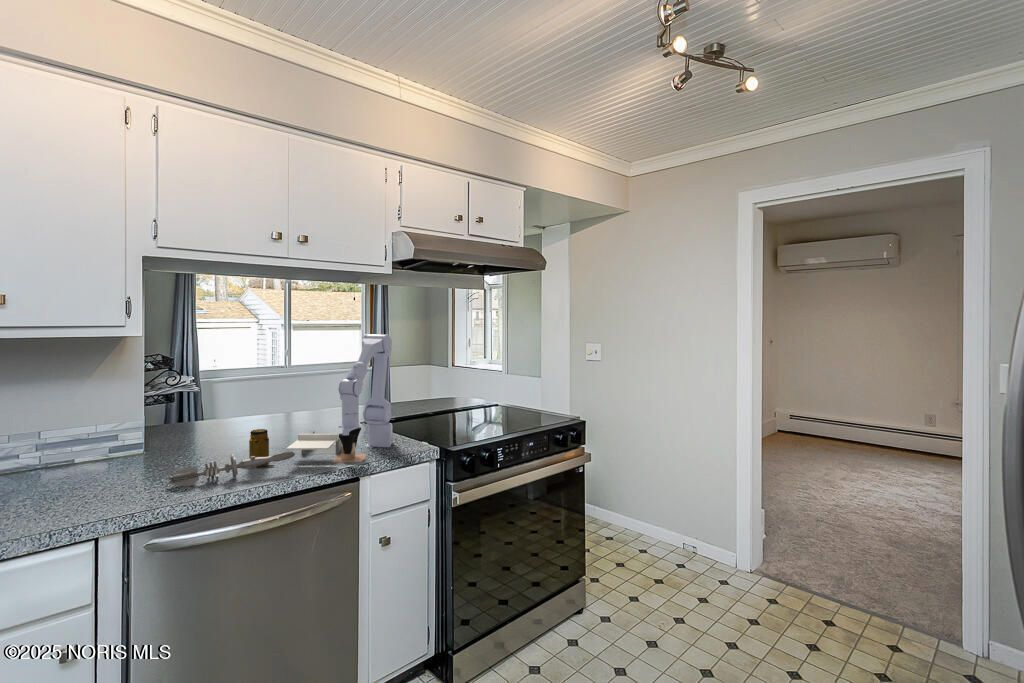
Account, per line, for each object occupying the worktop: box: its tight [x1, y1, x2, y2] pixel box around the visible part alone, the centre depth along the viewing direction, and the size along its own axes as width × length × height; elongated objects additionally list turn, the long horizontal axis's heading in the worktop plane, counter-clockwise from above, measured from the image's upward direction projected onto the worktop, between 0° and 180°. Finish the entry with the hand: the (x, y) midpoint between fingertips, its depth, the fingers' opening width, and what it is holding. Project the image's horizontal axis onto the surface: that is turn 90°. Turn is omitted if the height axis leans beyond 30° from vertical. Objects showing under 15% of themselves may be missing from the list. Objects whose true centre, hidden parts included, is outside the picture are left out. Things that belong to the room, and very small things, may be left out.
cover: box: [286, 433, 339, 451], centre depth 179 cm, size 14×13×2 cm
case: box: [301, 430, 342, 455], centre depth 194 cm, size 13×13×6 cm
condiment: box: [248, 428, 275, 469], centre depth 175 cm, size 7×8×12 cm
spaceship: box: [166, 451, 296, 487], centre depth 160 cm, size 8×35×8 cm
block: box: [340, 443, 356, 460], centre depth 183 cm, size 4×4×5 cm
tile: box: [332, 453, 368, 463], centre depth 183 cm, size 10×10×1 cm
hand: (350, 450), depth 183 cm, fingers open, 7 cm apart
